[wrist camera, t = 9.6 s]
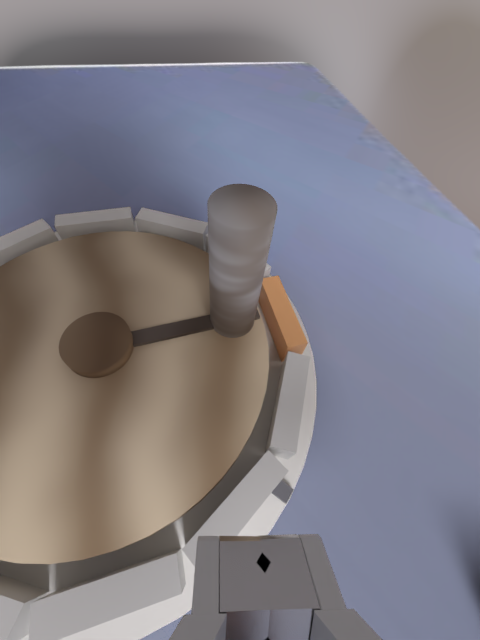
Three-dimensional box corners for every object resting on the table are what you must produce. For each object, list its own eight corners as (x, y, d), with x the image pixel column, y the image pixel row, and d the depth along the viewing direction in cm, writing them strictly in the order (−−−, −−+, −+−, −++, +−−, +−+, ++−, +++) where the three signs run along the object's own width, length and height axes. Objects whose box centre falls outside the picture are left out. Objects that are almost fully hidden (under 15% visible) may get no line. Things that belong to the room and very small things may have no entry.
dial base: (-226, 415, 18) (-316, 395, 15) (121, 195, 32) (111, 161, 29) (98, 859, 11) (54, 992, 8) (370, 334, 25) (392, 308, 21)
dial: (-140, 642, 12) (-992, 953, 4) (-49, 269, 23) (-213, 116, 14) (317, 477, 17) (429, 438, 8) (220, 228, 27) (222, 94, 19)
